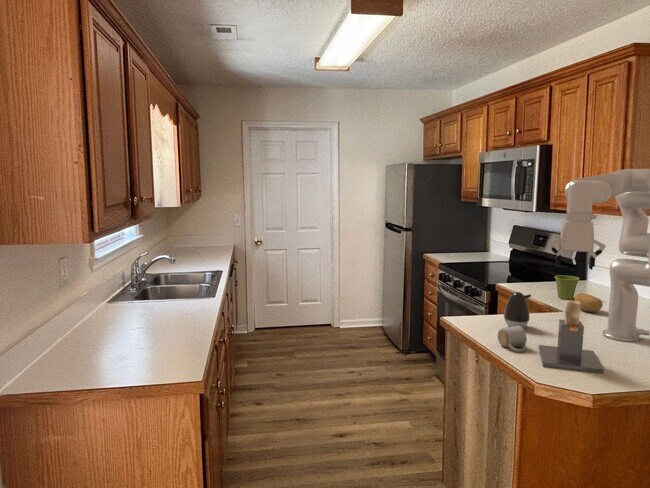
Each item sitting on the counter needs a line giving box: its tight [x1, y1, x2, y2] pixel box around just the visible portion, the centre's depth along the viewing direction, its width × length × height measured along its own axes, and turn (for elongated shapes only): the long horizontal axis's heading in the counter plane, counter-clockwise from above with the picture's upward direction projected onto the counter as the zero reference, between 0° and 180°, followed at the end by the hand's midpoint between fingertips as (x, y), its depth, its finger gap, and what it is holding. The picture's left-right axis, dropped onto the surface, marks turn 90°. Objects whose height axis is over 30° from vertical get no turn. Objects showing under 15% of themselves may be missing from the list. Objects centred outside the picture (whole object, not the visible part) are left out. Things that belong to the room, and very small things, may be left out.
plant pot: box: [554, 275, 580, 301], centre depth 254 cm, size 12×12×11 cm
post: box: [563, 299, 581, 326], centre depth 167 cm, size 4×4×19 cm
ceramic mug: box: [497, 326, 528, 353], centre depth 180 cm, size 11×8×8 cm
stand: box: [538, 319, 604, 374], centre depth 167 cm, size 18×18×14 cm
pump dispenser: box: [503, 291, 532, 329], centre depth 205 cm, size 10×10×15 cm
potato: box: [574, 292, 604, 313], centre depth 229 cm, size 10×14×8 cm
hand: (574, 267), depth 164 cm, fingers open, 9 cm apart
